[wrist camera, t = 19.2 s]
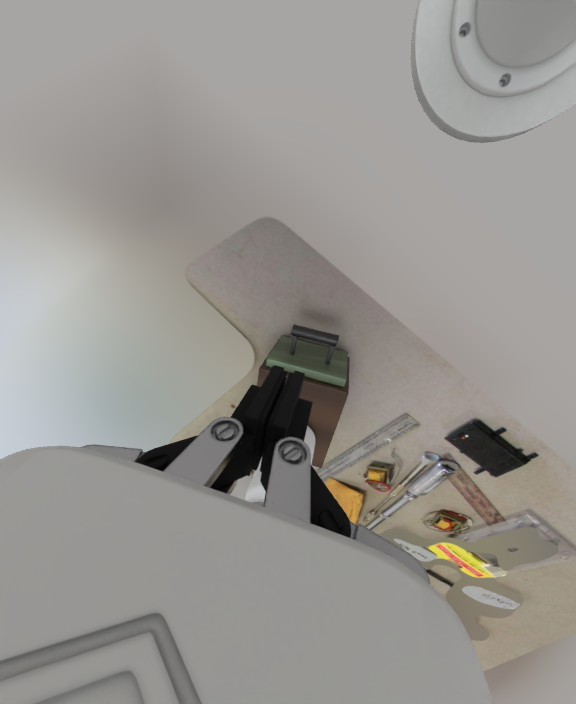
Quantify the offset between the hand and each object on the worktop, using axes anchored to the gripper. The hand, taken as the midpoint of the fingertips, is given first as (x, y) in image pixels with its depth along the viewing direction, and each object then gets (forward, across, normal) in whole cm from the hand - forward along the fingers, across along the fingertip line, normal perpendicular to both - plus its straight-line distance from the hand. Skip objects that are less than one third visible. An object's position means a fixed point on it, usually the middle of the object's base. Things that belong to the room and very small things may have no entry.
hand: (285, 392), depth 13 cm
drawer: (+24, 0, +13) cm, 28 cm away
